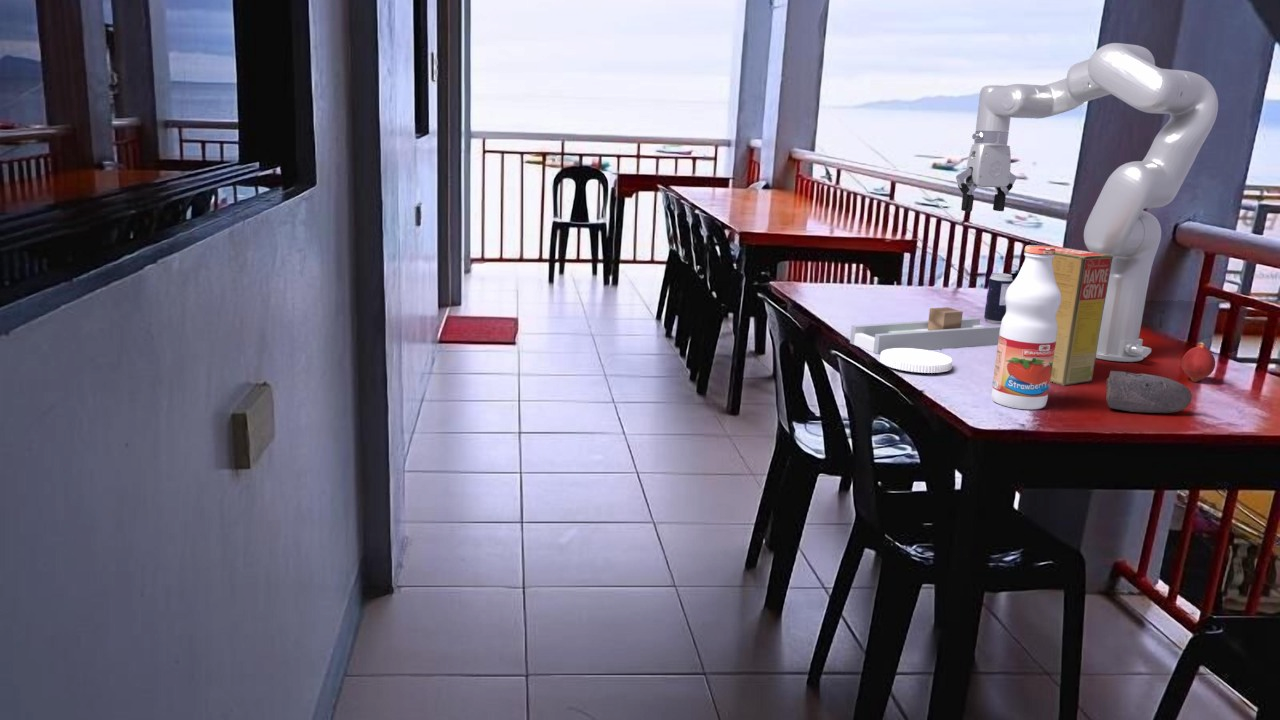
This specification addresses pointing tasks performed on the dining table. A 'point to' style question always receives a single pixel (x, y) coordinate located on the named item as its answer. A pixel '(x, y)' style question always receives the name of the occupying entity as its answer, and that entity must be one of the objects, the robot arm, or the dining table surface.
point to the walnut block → (944, 318)
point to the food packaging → (1078, 312)
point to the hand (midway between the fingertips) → (982, 210)
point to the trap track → (922, 336)
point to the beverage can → (997, 297)
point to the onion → (1198, 362)
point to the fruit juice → (1028, 333)
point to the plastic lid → (916, 360)
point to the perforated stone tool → (1145, 393)
